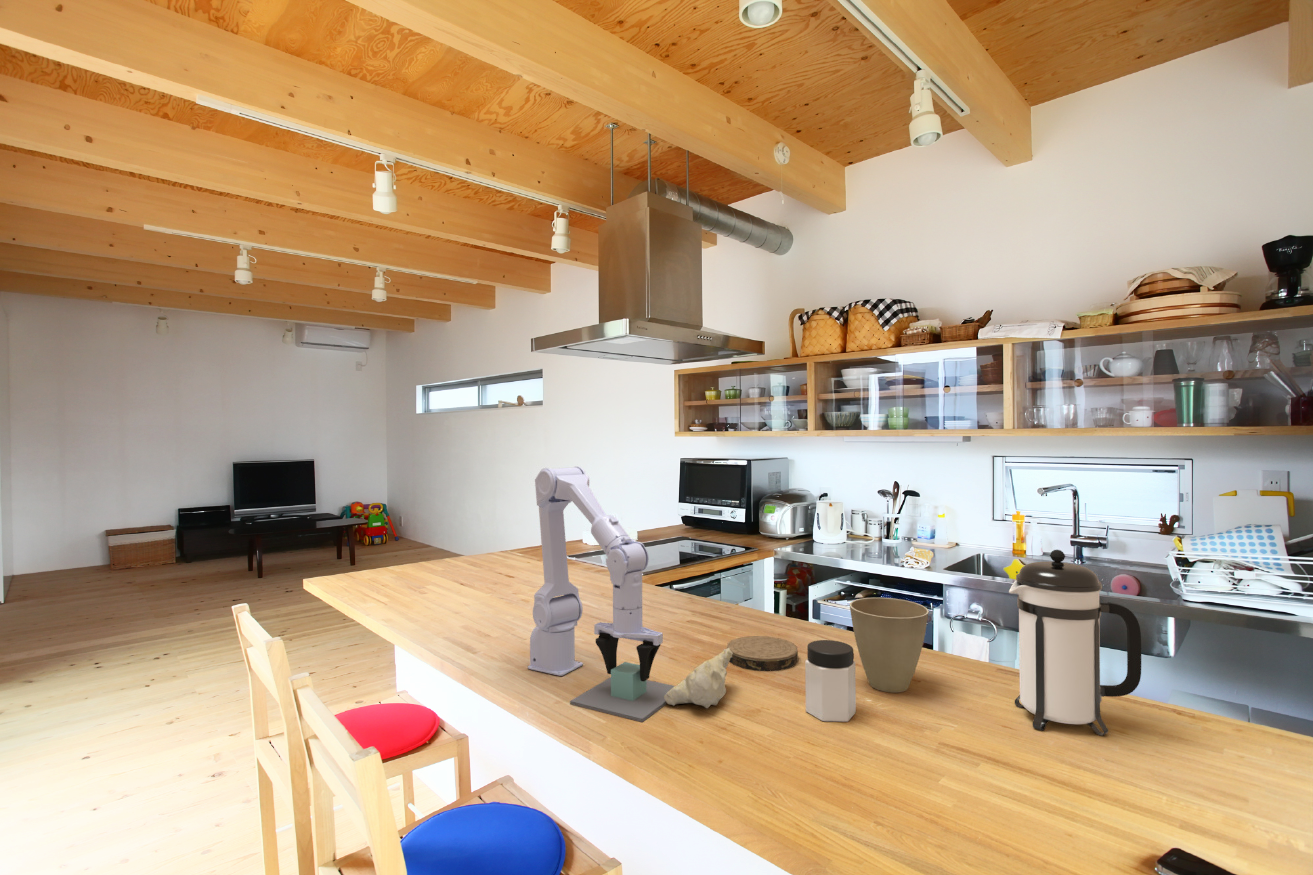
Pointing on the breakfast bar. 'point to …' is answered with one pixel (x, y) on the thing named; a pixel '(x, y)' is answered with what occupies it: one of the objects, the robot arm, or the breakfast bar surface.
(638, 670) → the block
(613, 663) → the robot arm
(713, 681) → the conch shell
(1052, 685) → the coffee press
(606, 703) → the mat
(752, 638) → the round wood slice
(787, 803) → the breakfast bar surface
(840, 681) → the jar
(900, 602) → the plant pot
